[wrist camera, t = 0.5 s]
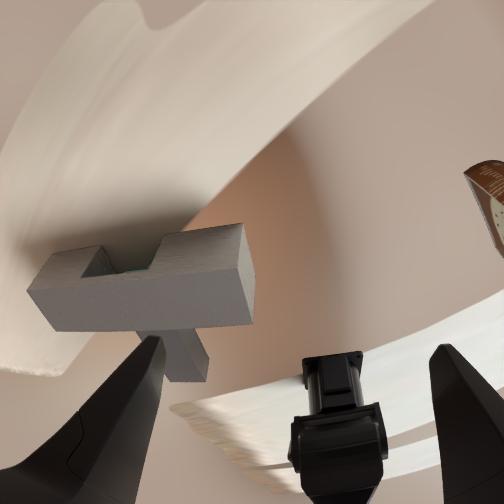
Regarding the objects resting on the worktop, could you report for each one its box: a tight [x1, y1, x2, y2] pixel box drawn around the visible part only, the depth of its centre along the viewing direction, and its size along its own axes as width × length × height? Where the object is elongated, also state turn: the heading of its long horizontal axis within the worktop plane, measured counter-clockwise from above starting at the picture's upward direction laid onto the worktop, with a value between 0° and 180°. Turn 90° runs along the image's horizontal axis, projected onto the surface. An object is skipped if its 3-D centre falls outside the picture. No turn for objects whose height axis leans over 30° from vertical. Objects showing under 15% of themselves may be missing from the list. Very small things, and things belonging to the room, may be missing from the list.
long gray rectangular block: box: [26, 223, 256, 332], centre depth 23 cm, size 5×18×5 cm, turn 101°
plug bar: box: [124, 269, 209, 382], centre depth 28 cm, size 13×4×3 cm, turn 11°
